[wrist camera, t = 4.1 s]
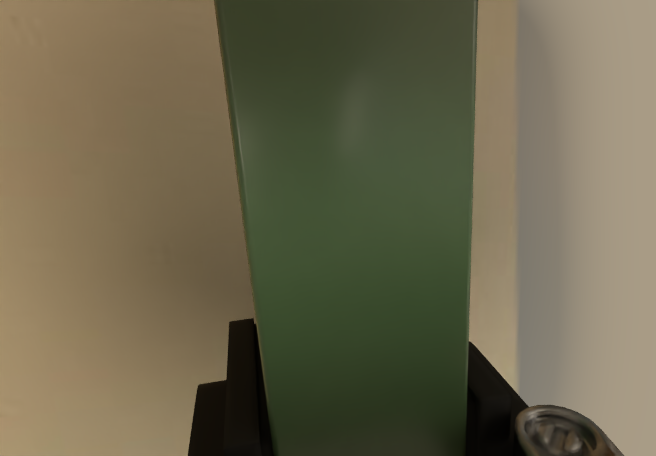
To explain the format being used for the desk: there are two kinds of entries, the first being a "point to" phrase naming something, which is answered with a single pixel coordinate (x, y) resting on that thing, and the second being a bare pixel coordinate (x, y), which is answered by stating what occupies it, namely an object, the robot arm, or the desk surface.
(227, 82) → the bar
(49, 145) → the desk surface
